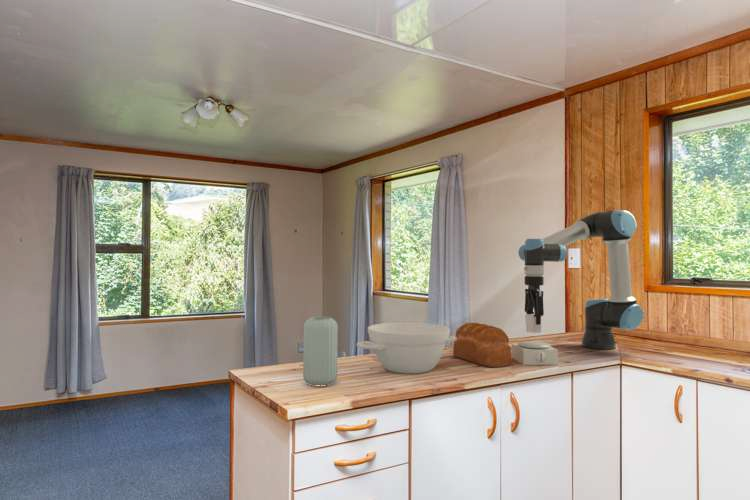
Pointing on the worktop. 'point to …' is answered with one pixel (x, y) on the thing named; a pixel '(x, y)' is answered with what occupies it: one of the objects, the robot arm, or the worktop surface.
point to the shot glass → (530, 322)
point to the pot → (408, 345)
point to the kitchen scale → (534, 353)
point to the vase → (320, 350)
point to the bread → (482, 345)
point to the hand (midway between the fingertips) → (533, 330)
